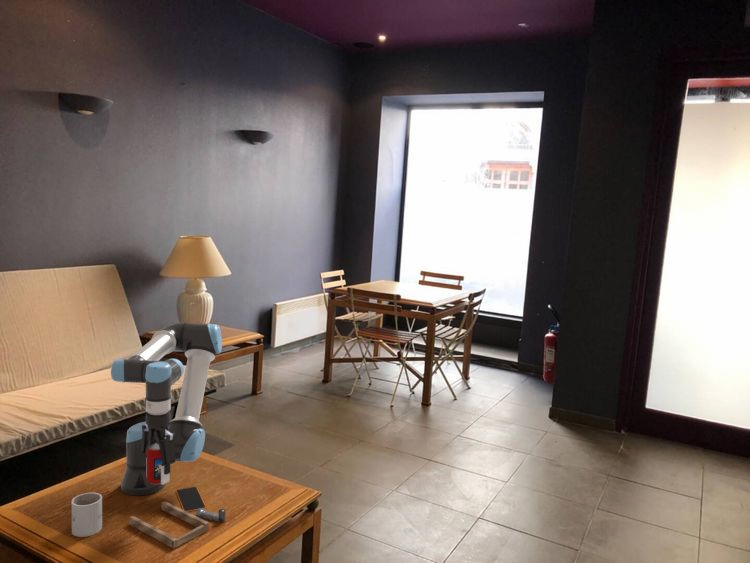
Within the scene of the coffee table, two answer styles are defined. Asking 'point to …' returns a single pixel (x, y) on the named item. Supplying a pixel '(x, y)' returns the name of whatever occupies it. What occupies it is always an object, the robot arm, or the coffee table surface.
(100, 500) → the mug
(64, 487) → the coffee table surface
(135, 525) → the bay
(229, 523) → the coffee table surface
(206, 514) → the crank handle
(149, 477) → the beverage can
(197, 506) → the smartphone
